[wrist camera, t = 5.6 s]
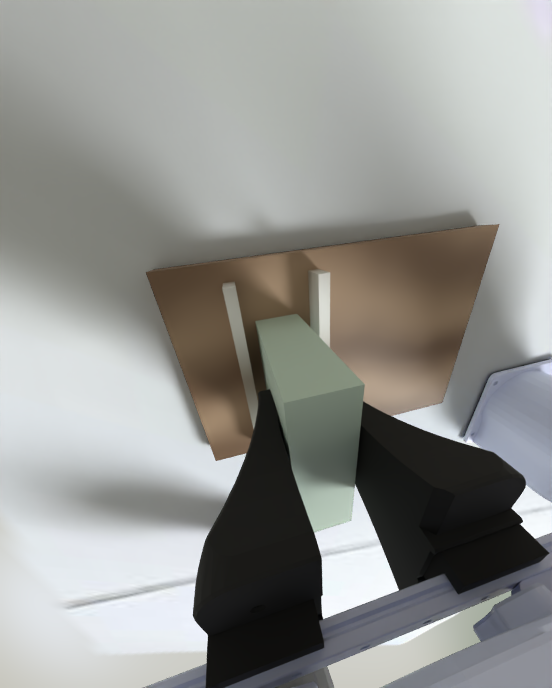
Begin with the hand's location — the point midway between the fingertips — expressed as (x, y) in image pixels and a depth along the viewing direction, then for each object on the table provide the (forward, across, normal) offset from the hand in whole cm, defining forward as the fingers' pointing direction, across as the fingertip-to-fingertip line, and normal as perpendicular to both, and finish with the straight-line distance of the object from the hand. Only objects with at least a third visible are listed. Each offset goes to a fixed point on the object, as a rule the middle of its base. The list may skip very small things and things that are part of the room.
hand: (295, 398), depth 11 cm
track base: (+4, -4, 0) cm, 6 cm away
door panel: (+3, 0, 0) cm, 3 cm away
